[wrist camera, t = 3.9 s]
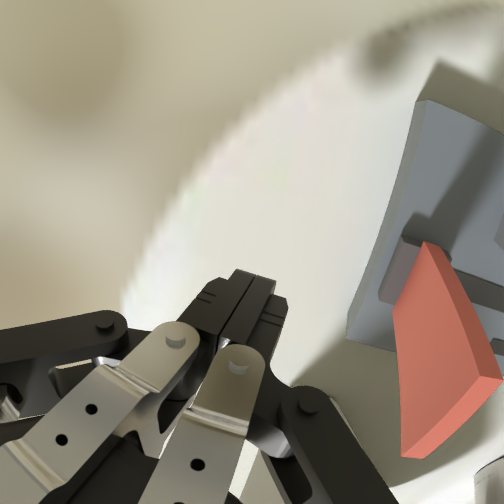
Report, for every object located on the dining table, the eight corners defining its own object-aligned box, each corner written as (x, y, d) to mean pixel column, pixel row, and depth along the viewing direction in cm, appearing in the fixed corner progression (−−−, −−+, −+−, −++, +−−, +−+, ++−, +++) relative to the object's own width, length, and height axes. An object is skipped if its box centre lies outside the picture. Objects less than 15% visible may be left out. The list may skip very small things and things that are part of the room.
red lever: (450, 244, 14) (523, 383, 5) (419, 309, 16) (443, 460, 7) (403, 227, 14) (452, 370, 6) (375, 296, 16) (376, 453, 8)
